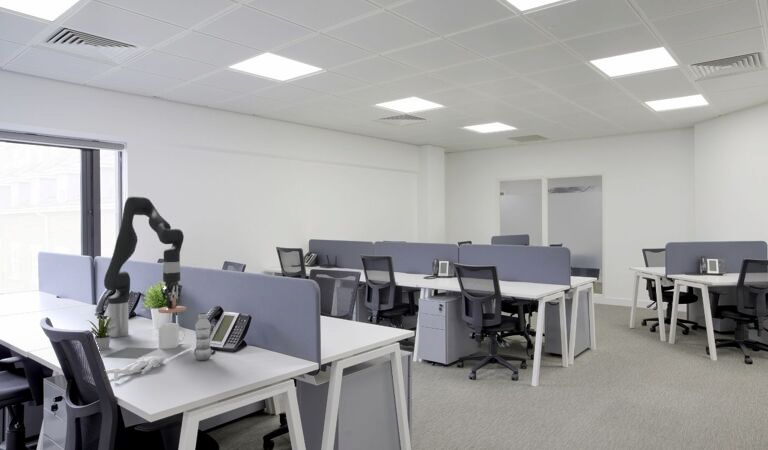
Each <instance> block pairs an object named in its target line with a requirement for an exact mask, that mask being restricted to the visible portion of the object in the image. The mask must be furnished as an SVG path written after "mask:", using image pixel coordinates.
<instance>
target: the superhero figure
mask: <svg viewBox="0 0 768 450" xmlns="http://www.w3.org/2000/svg"><path fill="white" fill-rule="evenodd" d="M165 360H166V359H165V356H155V355H150V356H149V355H148V356H144V357H139V358H137V359H136V361H134V362H133V363H130V364H128V365H126V366H125V367H123V368H119V367H114V368H111V369H107V370H105V371H107V375H110V374H113V375H114V377H113V381H114V382H117V381H118V377H119V375H120V374H126V375H133V374H135V373H137V372H139V371H141V375H145V373H146V372H147V371H148V370H149V369H150V368H151V367H156V365H157V364H163V363H164V362H165Z"/></svg>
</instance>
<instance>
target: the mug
mask: <svg viewBox="0 0 768 450" xmlns="http://www.w3.org/2000/svg"><path fill="white" fill-rule="evenodd" d="M179 325H180V324H179V323H176V322H175V323H174V322H173V323H171V322H170V323H164V324H160V325H158V349H164V350H169V349H173V348H177V347H179V344H180V343H181V342H183V341H184V339H185V336H186V335H185V334H186V333H185V329H184V328H183V327H181V326H179ZM179 331H182V332H183V336H182V337H181V338H180V337H179V336H180V335H179V334H180V333H179ZM179 338H180V339H179Z"/></svg>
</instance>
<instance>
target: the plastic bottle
mask: <svg viewBox="0 0 768 450" xmlns="http://www.w3.org/2000/svg"><path fill="white" fill-rule="evenodd" d="M208 316H209V315H208V312H200V313H198V316H197V317H198V319H197V321H196V323H195V325H194V330H195V338H196V341H195V342H196V345H195V346H196V347H195V352H194V353H195V354H194V356H195V359H196V360H197V361H206V360H209V359H210V358H211V357H212V349H211V343H210V336H211V329H212V328H211V322H210V320H209V319H208Z"/></svg>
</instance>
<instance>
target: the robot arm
mask: <svg viewBox="0 0 768 450" xmlns="http://www.w3.org/2000/svg"><path fill="white" fill-rule="evenodd" d="M134 216H146V217H147V218H148V225H149V227H150V228H151V229H152V230H153V231H154V232H155V233H156V234H157V237H158V240H159V242H160V243H162V244H164V245H171V246H170V248H168V249H165V250H164V251H163V265H162V281H163V283H165V284H164V288H163V287H162V288H161V289H160V292H161V294H162V298H163V300H165V301H166V307H167V308H168V309H171V308H172V297H176V307H177V306H178V298H180V297H181V293H182V290H183V289H182V288H183V285H182V284H179V282H180V281H181V257H180V256H181V250H182V246H183V243H184V239H185V238H184V237H185V236H184V233H183V231H182V230H181V229H180V228H179V229H178V228H172V227H171V225H170V223H169V222H168V221H167V220H166V219H165V218H164V217H162V216H161V214H160V213H159V211H158V209H156V207H155V206H154V204H153V202H152V201H151V200H150V199H149V198H147V197H144V196H134V195H133V196H132V195H131V196H129V197H127V198H126V200H125V203H124V206H123V211H122V219H121V223H120V228H119V230H118V231H119V232H118V235H117V238H116V242H115V244H114V249H113V253H112V257H111V260H110V263H109V265H108V267H107V271H106V272H105V275H104V279H103V285H104V288H105V289H106V290H107V291H115V290H116V292H115V293H114V294H113V295H110V296H109V297H108V298H107V304H108V306H107V311H108V312H107V314H108V315H107V317H106V320H105V323H106V322H107V321H108V319H109V318H110V317H112V316H113V317H112V318H111V320H112V321H111V323H112V322H113V323H112V324H111V323H110V322H109V323H110V324H109V325H108V327H109V326H110V327H109V328H111V329H109V328H108V327H107V328H108V329H109V330H110V331H107V332H108V334H107V333H106V335H111V338H119V337H121V338H122V337H126V336H128V335H129V298H130V294H131V277H130V274H129V272H127V271H125V270H124V271H121V269H122V268H123V266H124V264H125V263H126V262H127V261H128V260H129V259H130V258H131V257H132V256H133V255H134V253H135V250H136V248H137V244H138V235H137V233H136V231H135V228H134V225H133V224H134V223H133V221H134ZM116 317H118V318H116ZM114 318H115V319H114ZM113 319H114V320H113ZM114 321H115V322H114ZM116 326H117V327H116ZM112 327H113V328H114V327H115V328H114V329H113V328H112ZM116 328H117V329H116Z"/></svg>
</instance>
